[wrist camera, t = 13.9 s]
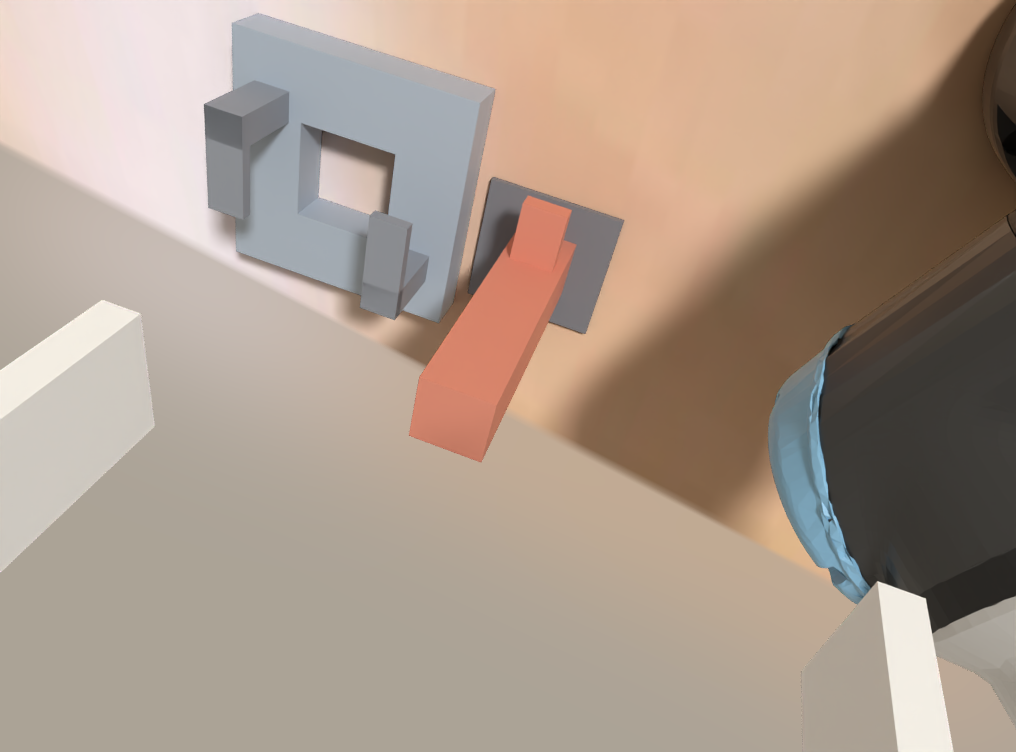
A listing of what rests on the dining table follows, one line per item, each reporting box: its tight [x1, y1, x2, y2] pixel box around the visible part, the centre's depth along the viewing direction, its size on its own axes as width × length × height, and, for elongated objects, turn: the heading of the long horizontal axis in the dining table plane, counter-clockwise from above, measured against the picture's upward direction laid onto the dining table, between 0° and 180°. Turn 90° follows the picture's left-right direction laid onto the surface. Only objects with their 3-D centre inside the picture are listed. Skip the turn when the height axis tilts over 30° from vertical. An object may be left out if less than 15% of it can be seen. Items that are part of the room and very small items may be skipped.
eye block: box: [204, 13, 495, 323], centre depth 49 cm, size 16×16×8 cm
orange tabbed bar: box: [409, 196, 577, 462], centre depth 45 cm, size 12×4×18 cm, turn 168°
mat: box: [468, 177, 624, 334], centre depth 52 cm, size 9×9×1 cm
